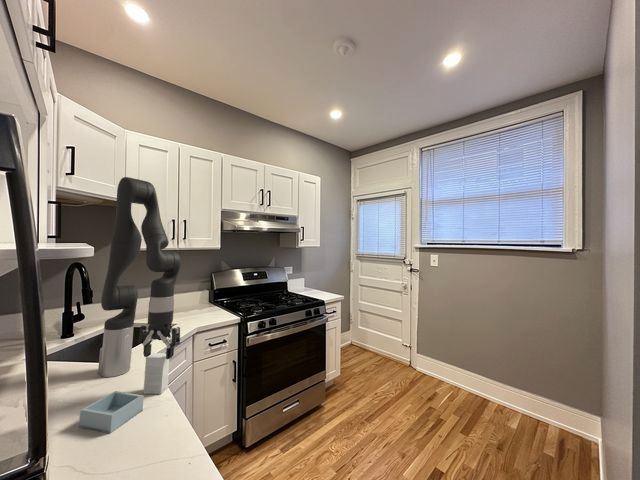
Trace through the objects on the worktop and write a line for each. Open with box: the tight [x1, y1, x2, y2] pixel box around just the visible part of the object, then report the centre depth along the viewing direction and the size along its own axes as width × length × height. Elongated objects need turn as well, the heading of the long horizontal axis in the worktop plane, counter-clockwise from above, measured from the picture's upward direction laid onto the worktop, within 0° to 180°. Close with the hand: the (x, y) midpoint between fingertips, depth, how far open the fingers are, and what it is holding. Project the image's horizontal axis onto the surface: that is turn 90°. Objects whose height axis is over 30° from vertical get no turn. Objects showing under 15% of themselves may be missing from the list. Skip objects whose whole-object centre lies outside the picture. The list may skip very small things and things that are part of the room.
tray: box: [78, 390, 145, 434], centre depth 74 cm, size 10×10×4 cm
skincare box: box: [143, 352, 170, 395], centre depth 90 cm, size 6×4×12 cm
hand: (158, 357), depth 90 cm, fingers open, 8 cm apart
